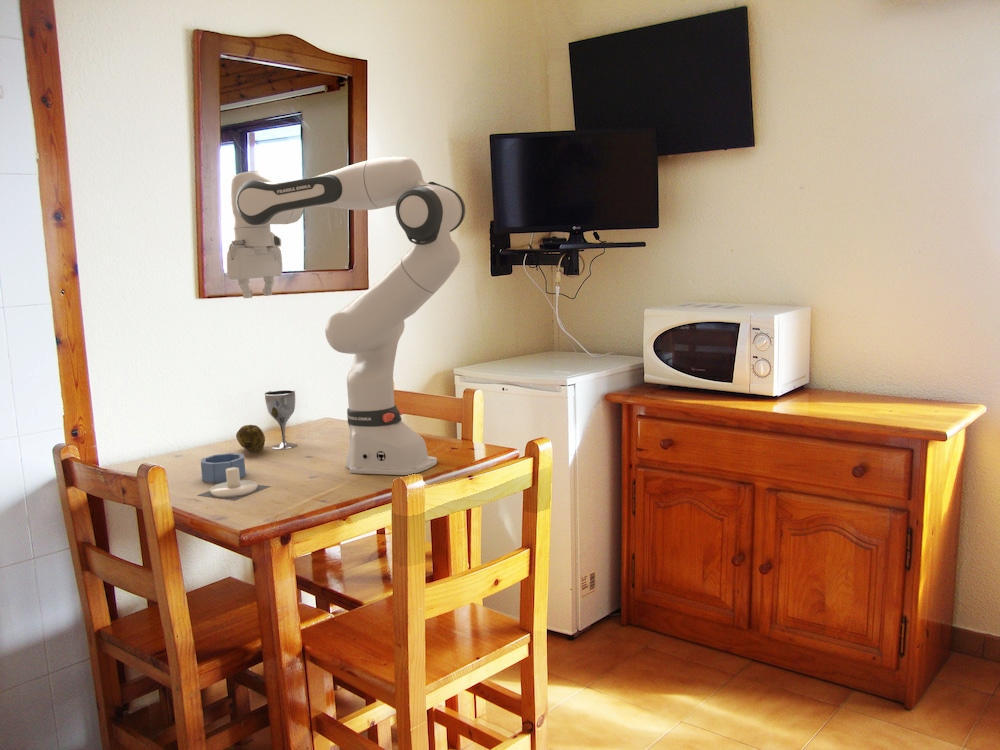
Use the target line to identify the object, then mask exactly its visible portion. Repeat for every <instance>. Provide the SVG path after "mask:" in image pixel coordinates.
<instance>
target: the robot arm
mask: <svg viewBox="0 0 1000 750" xmlns="http://www.w3.org/2000/svg"><path fill="white" fill-rule="evenodd" d="M422 174H423V173H422V171H421V168H420V167H419V165H418V163H417V162H416V161H415V160H414V159H413V158H410V157H408V156H389V157H387V156H386V157H377V158H373V159H368V160H365V161H364V160H363V161H361V162H357V163H354V164H351V165H347V166H344V167H342V168H339V169H336V170H332V171H329V172H326V173H324V174H323V173H322V174H319V175H315V176H312V177H308V178H302V179H297V180H292V181H285V182H280V181H276V180H273V179H272V178H269V177H268V176H265V175H264V173H262V172H261V171H258V170H249V171H243V172H240V173H237V174H235V175H234V176H232V178H231V179H230V183H229V203H230V204H229V205H230V212H231V214H232V218H233V219H232V220H233V223H232V234H233V240H232V241H231V242H230V244H229V245H228V250H227V253H226V273H227V277H228V278H229V280H230V281H236V280H237V282H238V286H239V287H240V290H241V292H242V297H243V299H251V298H253V290H251V288H250V286H249V284H250V279H261V278H263V282H264V287H263V288H262V292H263V293H262V295H263V296H266V297H267V296H268V297H269V296H272V295H273V287H274V283H275V280H274V278H275V277H281V276H282V273H283V258H282V255H283V254H282V251H281V249H280V247H281V246H282V239H281V238H280V237H279V236H277V235H275V233H273V231H271V225H291V224H294V223H296V222H298V221H299V220H300V218H301V219H302V216H303V213H304V211H305V208H306V209H307V208H313V207H325V208H327V207H328V208H336V209H342V210H351V211H371V210H378V209H379V210H380V209H383V208H384V209H385V208H389V207H395V215H396V220H397V222H398V224H399V225H400V227H401V228H402V230H403V231H404V232H405V235H406V238H407V239H408V241H409V242H410V243H412V244H413V245H412V246H411V248H410V249H408V251H407V252H406V253H405V254H404V255H403V256H402V257H401V258H400V259H399V260H398V261H397V262H396V263H395V264H394V265H393V267H391V269H390V270H388V271H387V272H386V273H385V274H384V275H383V277H381V278H380V279H379V280H378V281H377V282H376V283H374V284H373V285H372V286H370V287H368V289H366V290H364V292H362V293H361V294H360V295H358V296H357V297H356V298H354V299H353V300H352V301H351V302H349V303H348V304H347V305H346V306H344V307H343V308H342V309H340V310H338V311H337V312H335V313H334V314H332V315H331V316H330V317H329V318H328V320H327V322H326V325H325V329H324V332H325V338H326V340H327V343H328V345H329V346H330V347H331V348H332V349H333V350H334V351H336V352H338V353H342V354H349V355H354V357H353V361H352V365H351V367H350V370H349V371H348V373H347V377H346V387H347V390H346V391H347V400H348V401H347V402H348V408H347V410H346V414H347V416H346V417H347V424H348V428H349V443H348V444H349V445H348V452H347V458H346V459H347V460H346V464H345V466H346V468H347V469H349V473H350V474H364V475H365V474H366V475H369V474H370V475H391V476H393V475H395V476H410V475H414V474H418V473H421V472H424V471H427V470H429V469H431V468H433V467H434V466H436V465H437V464H438V459H437V457H436V456H431V455H428V448H427V445H426V441H425V439H424V438H423V437H422V436H421V435H420V434H418V433H417V432H416V431H415V430H414V429H412V428H411V427H410V426H409V425H407V424H406V423H405V422H404V421H402V416H403V415H405V413H406V412H404V411H405V408H403V409H401V410H399V409H398V407H397V406H396V404H395V393H394V392H395V389H394V368H395V360H396V356H397V351H398V350H397V349H398V345H399V341H400V339H401V337H402V335H403V333H404V330H405V326H406V325H405V320H406V319H408V318H409V317H411V316H413V315H414V314H415V313H416V312H418V310H419V309H421V307H422V306H423V305H424V304H425V303H426V302H427V301H428V300H430V299H431V298H432V296H434V295H435V293H437V292H438V291H439V289H440V288H441V287H442V286H443V285H444V284H445V283H446V282H447V281H448V280H449V278H450V277H451V275H452V274H453V273H454V271H455V269H457V267H458V265H459V263H460V260H461V253H460V249H459V248H458V246H457V243H455V242H454V241H453V239H452V237H451V232H453V231H455V230H456V229H457V228H458V227H460V225H461V224H462V222H463V221H464V220H465V217H466V216H465V215H466V204H465V201H464V200H463V198H462V196H461V195H460V194H459V193H458V192H457V191H455V190H454V189H452V188H450V187H448V186H445V185H442V184H441V183H440V184H439V183H437V182H434V181H429V182H426V181H425V180H424V178H423V175H422ZM413 473H414V474H413Z"/></svg>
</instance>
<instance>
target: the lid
mask: <svg viewBox="0 0 1000 750" xmlns="http://www.w3.org/2000/svg"><path fill="white" fill-rule="evenodd" d="M226 479H227V482H223V483H216V484H215V485H213V486H211V487H210V489H209V491H210V494H211V495H212V496H214V497H222V498H226V497H237V496H242V495H247V494H250V493H252V492H254V491H256V490H257V489H258V486H257V485H258V482H256V481H254V480H249V479H247V480H245V479H244V480H243V479H242V480H241V479H240V475H239V468H238V467H231V468H227V469H226ZM250 495H251V494H250Z"/></svg>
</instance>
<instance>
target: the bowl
mask: <svg viewBox="0 0 1000 750" xmlns="http://www.w3.org/2000/svg"><path fill="white" fill-rule="evenodd" d="M245 463H246V462H245V454H244V453H237V452H236V453H235V452H234V453H233V452H229V453H219V454H218V453H217V454H212V455H209V456H206V457H203V458H201V459H200V467H201V468H200V469H201V480H202V481H203V482H205V483H209V484H220V483H224V482H227V479H226V469H227V468H231V467H238V468H239V475H240V480H241V479H243V478H245V477H246V474H247V473H246V464H245Z"/></svg>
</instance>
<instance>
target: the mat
mask: <svg viewBox="0 0 1000 750" xmlns="http://www.w3.org/2000/svg"><path fill="white" fill-rule="evenodd" d="M257 486H258V489H257V490H256V491H254V492H252V493H250V494H247V495H242V496H237V497H226V498H222V497H214V496H212V495H211V494H210V490H208V491H205V492H203V493H202V492H201V493H200V494H197V497H204V498H213V499H219V500H226V501H234V502H235V501H238V500H239V499H242V498H245V497H248V496H250V495H253V494H255V493H257V492H260V491H263V490H266V489H268V488H270V487H271V486H270V485H264V484H263V485H262V484H257Z"/></svg>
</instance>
